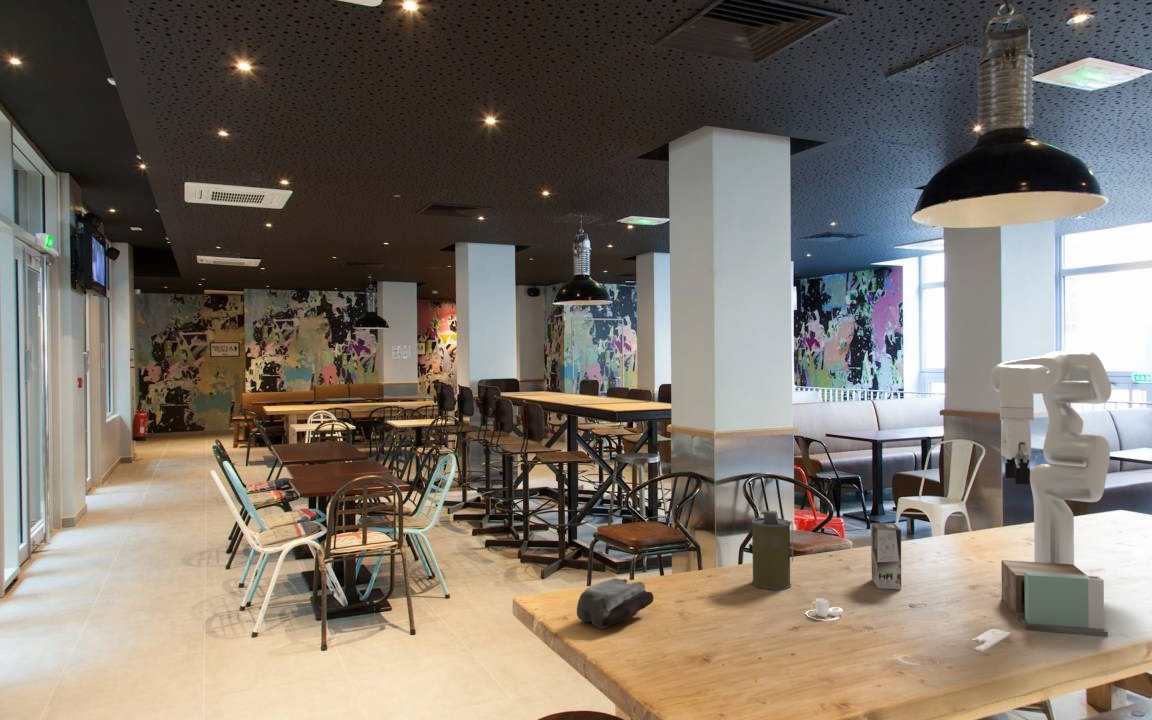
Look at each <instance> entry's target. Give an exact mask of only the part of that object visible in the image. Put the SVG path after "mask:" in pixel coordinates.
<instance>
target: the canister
mask: <svg viewBox="0 0 1152 720" xmlns="http://www.w3.org/2000/svg"><path fill="white" fill-rule="evenodd" d="M760 515H763V517H759V518H757V517H756V518H753V519H752V520H751V525H752V526H751V527H752V535H751V536H752V581H751V582H752V583H751V584H752V585H753V586H754V585H755V586H754V587H756V586H757V588H758V587H761V588H760V589H762V588H764V590H768V589H771V590H770V591H780V590H781V589H783V590H786V588H787V589H788V588H790V587H792V583H791V563H793V562H794V561H793V560H794V547H793V546H794V541H793V540H794V539H793V538H794V537H793V536H794V535H793V534H794V533H793V532H794V531H793V529H794V528H793V521H792V520H787V519H784V518H779V516H778V515H779V514H778V512H777V511H776V510H763V511H762V512H761V513H760ZM790 526H791V527H790ZM781 591H782V590H781Z"/></svg>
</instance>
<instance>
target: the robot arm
mask: <svg viewBox="0 0 1152 720" xmlns="http://www.w3.org/2000/svg"><path fill="white" fill-rule="evenodd" d="M989 384H990V387H991V388H992V389H993V390H994V391H995V392H996V393H999V420H1000V421H1002V424H1001V425H1002V426H1001V438H1000V439H1001V442H1000V453H1001V456H1003V458H1004V477H1005V478H1006V479H1014V483H1015V484H1016V485H1030V487H1031V488H1030V489H1031V492H1032V493H1031V494H1032V499H1033V523H1034V524H1033V526H1034V527H1033V528H1034V529H1033V530H1034V531H1033V534H1034V536H1033V537H1034V547H1033V548H1034V550H1033V551H1034V552H1033V553H1034V562H1042V563H1059V564H1073V565H1074V566H1075V517H1074V513H1073V511H1072V509H1071V508H1070V506H1069V505H1068V504H1067V502H1066V501H1074V502H1075V501H1076V502H1084V503H1085V502H1086V503H1095V502H1098V501H1100V500H1101V498H1102V497H1103V495H1104V491H1105V487H1106V481H1107V476H1108V471H1109V464H1110V460H1111V459H1110V458H1111V448H1110V447H1111V446H1110V444H1109V441H1108V440H1107V438H1106V437H1104V436H1103V435H1100V434H1095V433H1083V429H1084V420H1083V418H1082V417H1081V415H1080V414H1079V413H1078V412H1077V411H1076V410H1075V409H1074V408H1073V407H1071V406H1070V405H1069V404H1088V405H1089V404H1090V405H1091V404H1093V405H1094V404H1095V405H1096V404H1097V405H1099V404H1105V403H1106V402H1108V400H1109V399H1110V398H1111V395H1112V385H1111V380H1110V378H1109V376H1108V374H1107V371H1106V369H1105V367H1104V364H1103V363H1102V361H1101V359H1100V357H1099V356H1098V355H1097V354H1095V352H1092V351H1090V350H1064V351H1063V350H1058V351H1057V350H1056V351H1051V352H1050V351H1049V352H1048V353H1045V354H1043V355H1040V356H1037V357H1029V358H1024V359H1023V358H1022V359H1017V360H1011V361H1005V362H1001V363H999V364H996V365H995V366H994V367H993V368H992V370H991V371H990V374H989ZM1034 394H1035V395H1039V394H1041V395H1042V400H1043V403H1044V406H1045V409H1046V412H1047V415H1048V424H1047V429H1046V433H1045V438H1044V443H1043V448H1042V455H1043V459H1044V460H1045V461H1046V462H1048V463H1041V464H1037V465H1035V466H1034V467H1033V468H1032V469H1031V468H1030V467H1031V465H1030V458H1031V457H1032V456H1031V455H1032V438H1031V437H1032V436H1031V423H1030V422H1032V421H1034V417H1035V416H1034V414H1035V413H1034V412H1035V411H1034V408H1035V407H1034V401H1035V400H1034ZM1065 500H1066V501H1065Z"/></svg>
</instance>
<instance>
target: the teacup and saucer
mask: <svg viewBox="0 0 1152 720" xmlns="http://www.w3.org/2000/svg"><path fill="white" fill-rule="evenodd" d="M814 600H815V601H812V602H811V603H810V607H811V609H810V610H806V611H805V613H804V615H805V614H806V615H807V616H808V614H807V613H808V612H809V611H814V612H813V613H815V614H816V615H817V616H818V617H820V616H821V618H818V619H816V618H817V617H814V616H812V617H810V616H808V618H809V617H810V619H812V618H813V617H814V618H813V619H812V620H815V619H816V620H817V621H821V620H822V622H824V621H825V622H831V621H832V622H833V621H836V620H839V619H840V616H842V615H843V613H844V610H843V608H842V607H839V606H832V607H830V601H829V599H826V598H823V597H821V598H815V599H814ZM813 604H815V609H814V608H813ZM815 610H816V612H815ZM806 615H805V616H806ZM828 615H829V616H831V617H832V618H829V619H828V618H827V619H828V620H827V619H826V617H827V616H828ZM807 616H806V617H807ZM824 618H825V619H826V620H824Z"/></svg>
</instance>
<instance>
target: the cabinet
mask: <svg viewBox="0 0 1152 720" xmlns="http://www.w3.org/2000/svg"><path fill="white" fill-rule="evenodd" d="M1000 562H1001V565H1000V566H1001V600H1002V601H1003V602H1004V604H1005V605H1006V606H1007V607H1008V609H1009V610H1010V611H1011V613H1012V614H1013V615H1014V616H1015V618H1017V620H1018V621H1019V622H1020V623H1021V625H1022V626H1023V627H1024V629H1025V630H1027V631H1040V632H1049V633H1052V632H1053V633H1060V634H1062V633H1064V634H1075V635H1086V636H1089V635H1090V636H1098V637H1099V636H1100V637H1109V631H1108V630H1107V629H1106V628H1104V629H1095V628H1083V627H1070V626H1057V625H1045V624H1032V623H1028V622H1027V621H1026V620H1025V572H1036V573H1052V574H1068V575H1084V576H1088V575H1087V574H1086V573H1085V572H1083V571H1082V570H1081V569H1080V568H1078V567H1077V566H1076V565H1075V564H1074V565H1073V564H1059V563H1042V562H1035V561H1022V560H1010V559H1009V560H1007V559H1006V560H1005V559H1004V560H1003V559H1001V561H1000Z"/></svg>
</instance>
